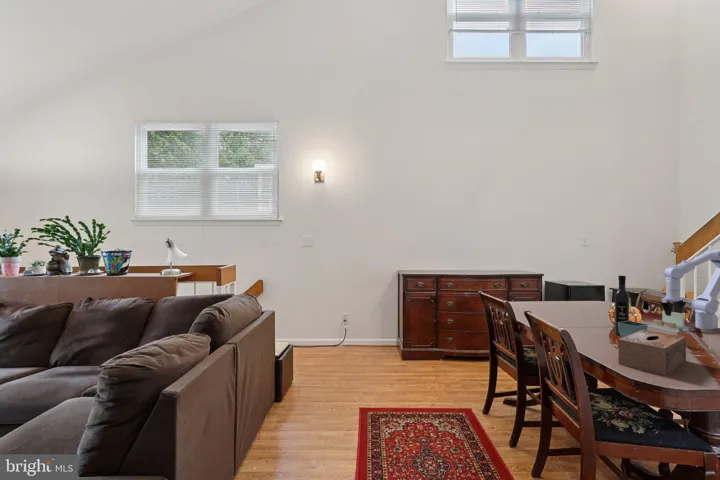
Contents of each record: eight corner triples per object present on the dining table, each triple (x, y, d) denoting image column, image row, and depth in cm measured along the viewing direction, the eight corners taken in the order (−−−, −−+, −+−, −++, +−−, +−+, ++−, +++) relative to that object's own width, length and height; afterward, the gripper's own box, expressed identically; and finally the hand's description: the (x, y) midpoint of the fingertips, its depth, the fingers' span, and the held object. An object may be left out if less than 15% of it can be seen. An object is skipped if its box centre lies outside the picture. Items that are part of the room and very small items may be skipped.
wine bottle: (628, 336, 182) (628, 276, 182) (614, 335, 186) (614, 275, 185) (629, 334, 187) (629, 275, 186) (615, 332, 190) (615, 275, 190)
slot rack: (662, 325, 206) (662, 320, 206) (695, 332, 191) (695, 327, 191) (643, 327, 202) (643, 322, 202) (675, 334, 186) (675, 329, 186)
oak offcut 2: (666, 328, 195) (666, 321, 195) (675, 330, 191) (675, 323, 191) (663, 328, 195) (663, 321, 194) (673, 330, 190) (673, 323, 190)
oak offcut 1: (655, 325, 200) (655, 319, 200) (664, 327, 196) (664, 321, 196) (652, 326, 200) (652, 319, 200) (661, 328, 195) (661, 321, 195)
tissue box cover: (642, 352, 158) (642, 329, 158) (686, 361, 147) (686, 336, 146) (618, 364, 143) (618, 339, 143) (664, 376, 132) (665, 348, 131)
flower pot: (616, 340, 175) (616, 322, 175) (627, 338, 179) (627, 320, 179) (637, 345, 167) (637, 326, 167) (648, 343, 171) (648, 324, 171)
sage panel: (663, 324, 202) (663, 310, 202) (684, 329, 193) (684, 314, 193) (662, 325, 202) (662, 310, 202) (683, 329, 192) (683, 314, 192)
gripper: (674, 288, 203) (674, 312, 203) (655, 289, 199) (655, 314, 199) (689, 290, 197) (688, 315, 197) (670, 291, 192) (670, 317, 192)
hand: (673, 315), depth 197 cm, fingers open, 7 cm apart
